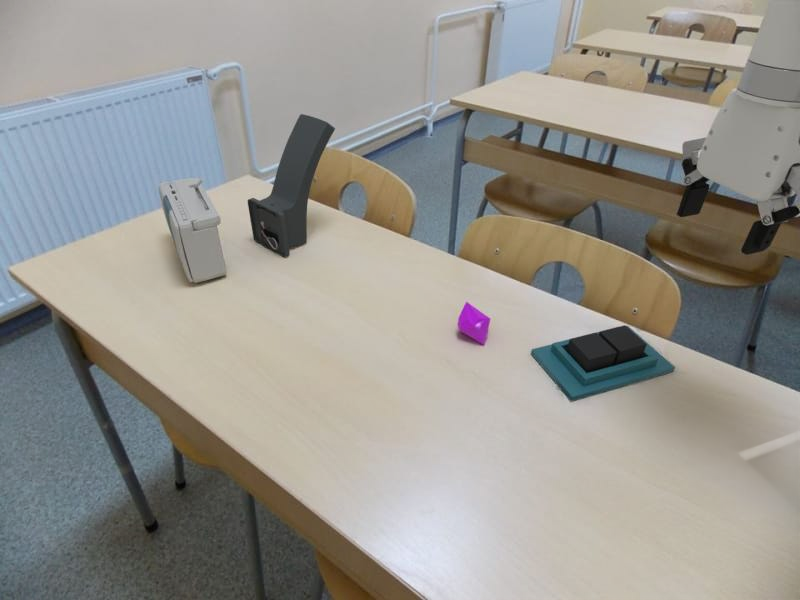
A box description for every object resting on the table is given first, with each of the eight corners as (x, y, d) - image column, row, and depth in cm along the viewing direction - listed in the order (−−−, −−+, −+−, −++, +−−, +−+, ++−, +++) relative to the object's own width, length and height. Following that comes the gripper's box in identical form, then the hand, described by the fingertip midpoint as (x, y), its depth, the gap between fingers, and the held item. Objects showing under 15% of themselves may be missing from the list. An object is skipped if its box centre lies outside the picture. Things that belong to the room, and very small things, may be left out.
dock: (673, 371, 81) (678, 360, 79) (570, 401, 75) (574, 389, 74) (625, 329, 89) (629, 318, 88) (530, 353, 84) (533, 341, 82)
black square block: (611, 369, 80) (617, 352, 78) (584, 376, 78) (589, 359, 76) (591, 348, 83) (596, 332, 81) (564, 355, 82) (569, 338, 80)
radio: (170, 239, 111) (146, 148, 100) (210, 231, 115) (190, 142, 103) (189, 289, 97) (162, 188, 85) (233, 278, 100) (213, 180, 88)
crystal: (453, 338, 86) (456, 316, 84) (464, 320, 90) (466, 298, 88) (483, 347, 85) (486, 325, 82) (493, 328, 89) (496, 307, 86)
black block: (640, 361, 81) (647, 344, 79) (614, 368, 80) (620, 351, 78) (619, 341, 85) (625, 324, 83) (593, 348, 84) (599, 331, 81)
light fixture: (345, 229, 116) (340, 120, 102) (284, 259, 106) (269, 141, 92) (313, 215, 122) (304, 109, 108) (252, 241, 111) (233, 128, 97)
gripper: (897, 103, 47) (807, 263, 57) (738, 63, 60) (687, 199, 70) (840, 109, 45) (757, 274, 55) (688, 67, 58) (643, 206, 68)
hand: (718, 232), depth 63 cm, fingers open, 9 cm apart
